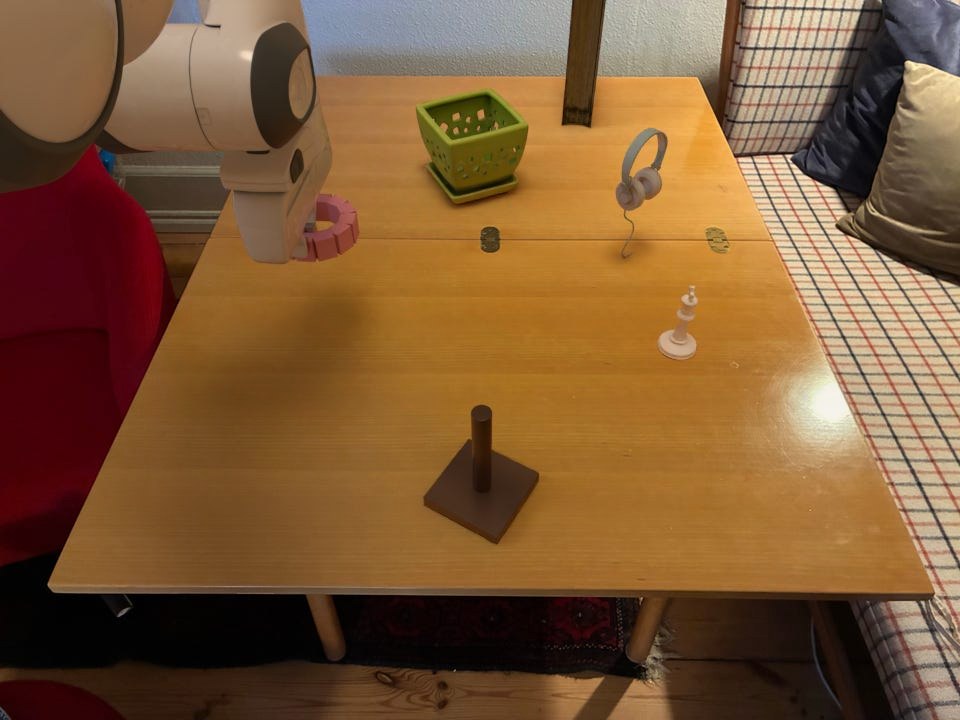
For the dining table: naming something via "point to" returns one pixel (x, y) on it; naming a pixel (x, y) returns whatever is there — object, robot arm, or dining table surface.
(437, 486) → the stand
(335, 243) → the ring
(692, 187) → the dining table surface
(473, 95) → the flower pot
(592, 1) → the book
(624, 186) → the headphones
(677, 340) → the chess piece
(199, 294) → the dining table surface
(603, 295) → the dining table surface
